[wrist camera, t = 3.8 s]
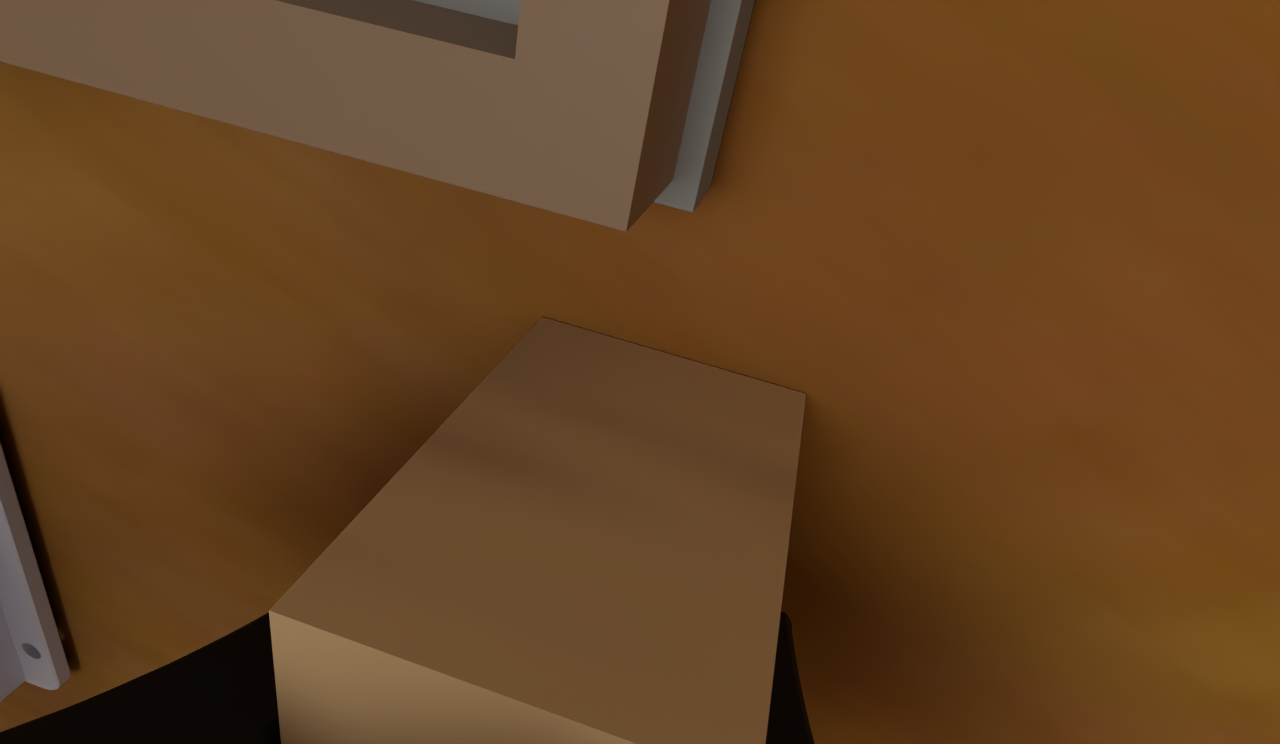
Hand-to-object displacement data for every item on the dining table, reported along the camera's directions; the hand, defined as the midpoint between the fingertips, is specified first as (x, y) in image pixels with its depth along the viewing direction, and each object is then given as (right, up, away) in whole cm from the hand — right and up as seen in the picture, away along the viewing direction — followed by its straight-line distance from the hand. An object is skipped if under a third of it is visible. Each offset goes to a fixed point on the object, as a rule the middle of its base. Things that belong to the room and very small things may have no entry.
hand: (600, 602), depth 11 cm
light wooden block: (0, +1, +1) cm, 2 cm away
